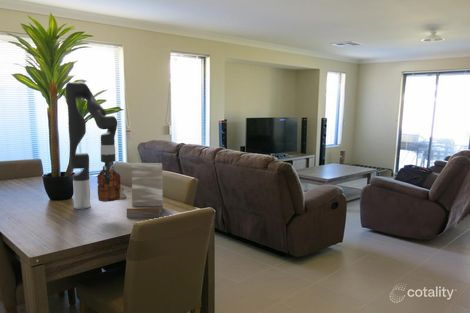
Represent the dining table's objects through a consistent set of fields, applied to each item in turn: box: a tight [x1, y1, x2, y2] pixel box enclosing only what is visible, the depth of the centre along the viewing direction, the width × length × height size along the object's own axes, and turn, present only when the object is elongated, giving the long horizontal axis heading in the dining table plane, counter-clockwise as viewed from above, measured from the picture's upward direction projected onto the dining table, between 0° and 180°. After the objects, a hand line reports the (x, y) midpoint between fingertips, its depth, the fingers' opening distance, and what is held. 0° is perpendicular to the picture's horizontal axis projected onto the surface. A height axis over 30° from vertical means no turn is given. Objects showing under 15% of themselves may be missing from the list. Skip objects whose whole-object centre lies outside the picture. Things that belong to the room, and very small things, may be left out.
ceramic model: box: [119, 184, 127, 199], centre depth 248 cm, size 14×11×10 cm
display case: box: [126, 162, 164, 218], centre depth 210 cm, size 18×18×28 cm
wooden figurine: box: [96, 169, 121, 203], centre depth 198 cm, size 12×6×18 cm, turn 113°
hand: (108, 182), depth 198 cm, fingers closed on wooden figurine, 7 cm apart
